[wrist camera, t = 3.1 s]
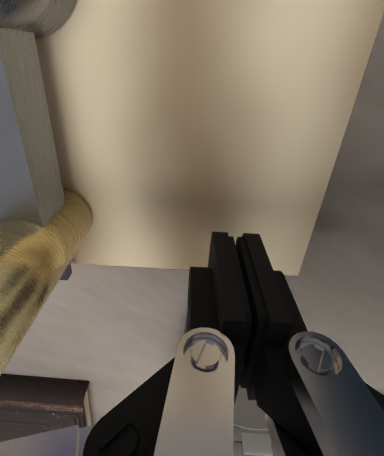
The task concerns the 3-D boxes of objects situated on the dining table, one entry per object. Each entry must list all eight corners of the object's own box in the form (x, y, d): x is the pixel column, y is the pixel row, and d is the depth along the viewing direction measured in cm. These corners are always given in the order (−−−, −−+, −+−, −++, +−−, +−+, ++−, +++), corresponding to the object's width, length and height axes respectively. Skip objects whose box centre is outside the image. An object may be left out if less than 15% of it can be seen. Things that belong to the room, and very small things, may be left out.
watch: (179, 371, 22) (166, 611, 12) (190, 293, 18) (183, 565, 8) (251, 376, 22) (293, 616, 13) (279, 301, 18) (372, 574, 8)
